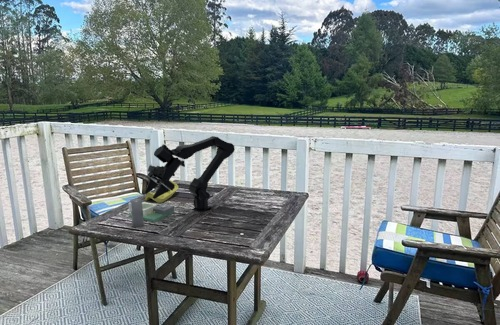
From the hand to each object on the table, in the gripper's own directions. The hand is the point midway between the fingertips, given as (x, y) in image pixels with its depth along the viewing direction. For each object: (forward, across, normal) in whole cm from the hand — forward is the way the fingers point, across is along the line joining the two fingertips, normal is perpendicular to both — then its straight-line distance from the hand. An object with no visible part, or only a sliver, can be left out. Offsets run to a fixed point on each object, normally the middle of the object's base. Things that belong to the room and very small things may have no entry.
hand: (149, 195), depth 168 cm
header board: (+6, -9, +12) cm, 16 cm away
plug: (+14, 0, +4) cm, 14 cm away
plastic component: (-5, -30, +23) cm, 38 cm away
